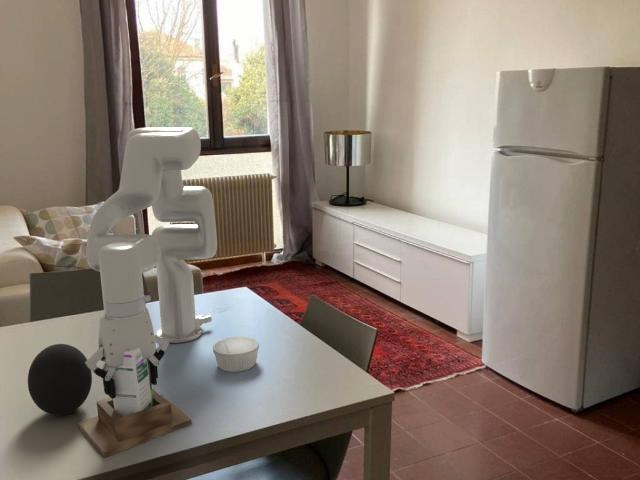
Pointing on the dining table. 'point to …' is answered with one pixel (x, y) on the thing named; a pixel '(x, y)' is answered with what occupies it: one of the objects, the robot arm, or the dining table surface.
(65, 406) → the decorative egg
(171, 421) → the walnut holder
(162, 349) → the robot arm
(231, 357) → the ramekin
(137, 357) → the syrup box
